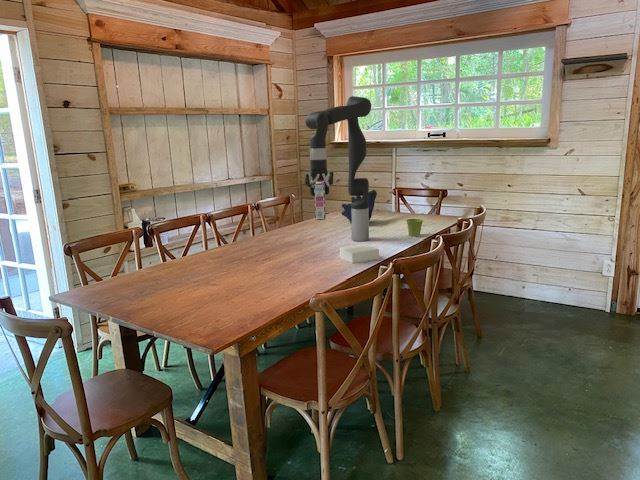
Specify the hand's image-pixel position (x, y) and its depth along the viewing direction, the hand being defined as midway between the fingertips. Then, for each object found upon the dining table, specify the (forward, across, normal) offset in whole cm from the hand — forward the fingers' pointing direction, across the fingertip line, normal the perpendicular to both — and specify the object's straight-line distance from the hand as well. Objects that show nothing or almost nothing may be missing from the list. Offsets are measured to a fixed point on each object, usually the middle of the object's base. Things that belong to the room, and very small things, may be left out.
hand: (319, 195), depth 217 cm
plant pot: (+30, -64, -14) cm, 72 cm away
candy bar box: (+11, 0, 0) cm, 11 cm away
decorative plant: (+30, -58, -65) cm, 92 cm away
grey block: (+30, -14, +11) cm, 35 cm away
